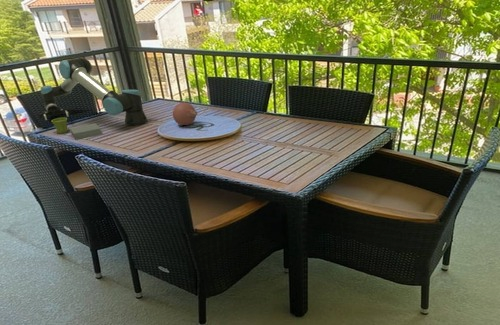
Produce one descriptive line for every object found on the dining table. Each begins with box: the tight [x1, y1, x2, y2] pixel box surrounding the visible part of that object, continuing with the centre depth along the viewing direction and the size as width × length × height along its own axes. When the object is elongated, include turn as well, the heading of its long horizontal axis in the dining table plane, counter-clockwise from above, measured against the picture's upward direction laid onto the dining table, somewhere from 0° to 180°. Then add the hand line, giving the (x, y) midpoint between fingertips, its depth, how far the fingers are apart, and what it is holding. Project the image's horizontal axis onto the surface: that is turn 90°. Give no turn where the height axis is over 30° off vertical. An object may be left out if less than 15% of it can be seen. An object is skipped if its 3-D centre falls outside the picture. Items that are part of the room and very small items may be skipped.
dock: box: [69, 122, 102, 141], centre depth 228 cm, size 16×14×4 cm
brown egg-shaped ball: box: [172, 102, 198, 126], centre depth 233 cm, size 15×20×15 cm
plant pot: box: [51, 117, 69, 134], centre depth 233 cm, size 9×9×9 cm
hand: (57, 116), depth 240 cm, fingers open, 13 cm apart
